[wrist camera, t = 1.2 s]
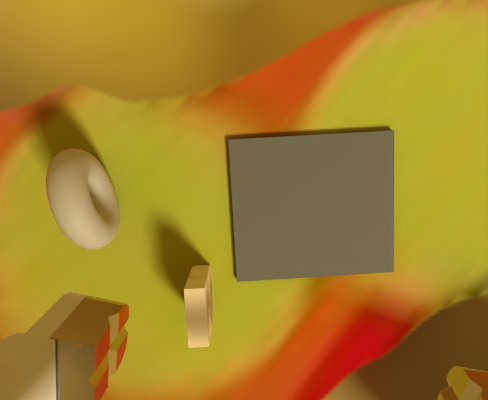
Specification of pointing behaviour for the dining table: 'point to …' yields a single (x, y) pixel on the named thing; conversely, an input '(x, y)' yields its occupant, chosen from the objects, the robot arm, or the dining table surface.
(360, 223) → the mat
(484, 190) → the dining table surface
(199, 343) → the block
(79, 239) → the donut
